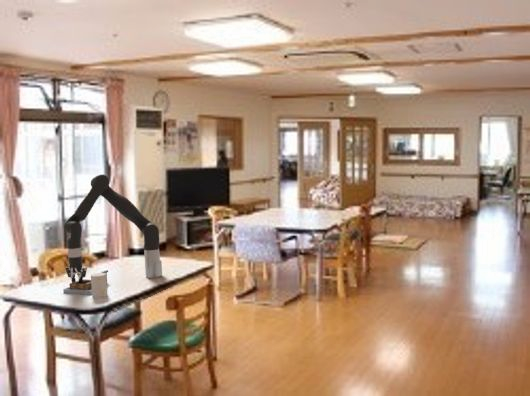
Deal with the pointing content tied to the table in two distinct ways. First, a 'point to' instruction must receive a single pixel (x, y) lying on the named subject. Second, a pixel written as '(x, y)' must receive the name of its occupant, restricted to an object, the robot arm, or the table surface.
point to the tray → (78, 291)
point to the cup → (99, 285)
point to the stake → (105, 272)
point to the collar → (81, 285)
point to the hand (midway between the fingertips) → (77, 284)
